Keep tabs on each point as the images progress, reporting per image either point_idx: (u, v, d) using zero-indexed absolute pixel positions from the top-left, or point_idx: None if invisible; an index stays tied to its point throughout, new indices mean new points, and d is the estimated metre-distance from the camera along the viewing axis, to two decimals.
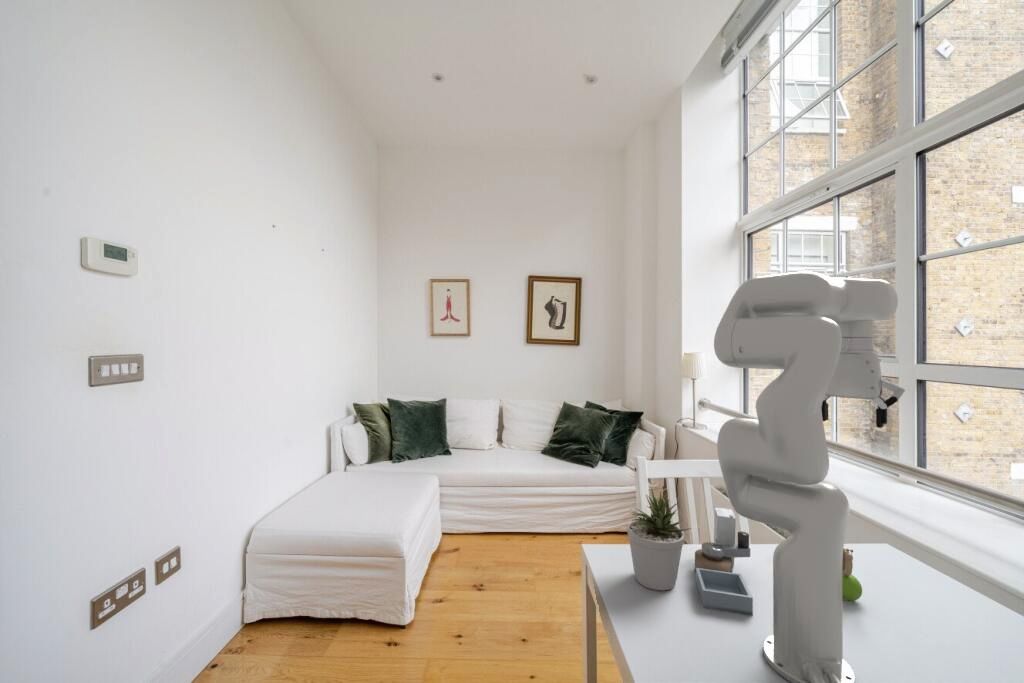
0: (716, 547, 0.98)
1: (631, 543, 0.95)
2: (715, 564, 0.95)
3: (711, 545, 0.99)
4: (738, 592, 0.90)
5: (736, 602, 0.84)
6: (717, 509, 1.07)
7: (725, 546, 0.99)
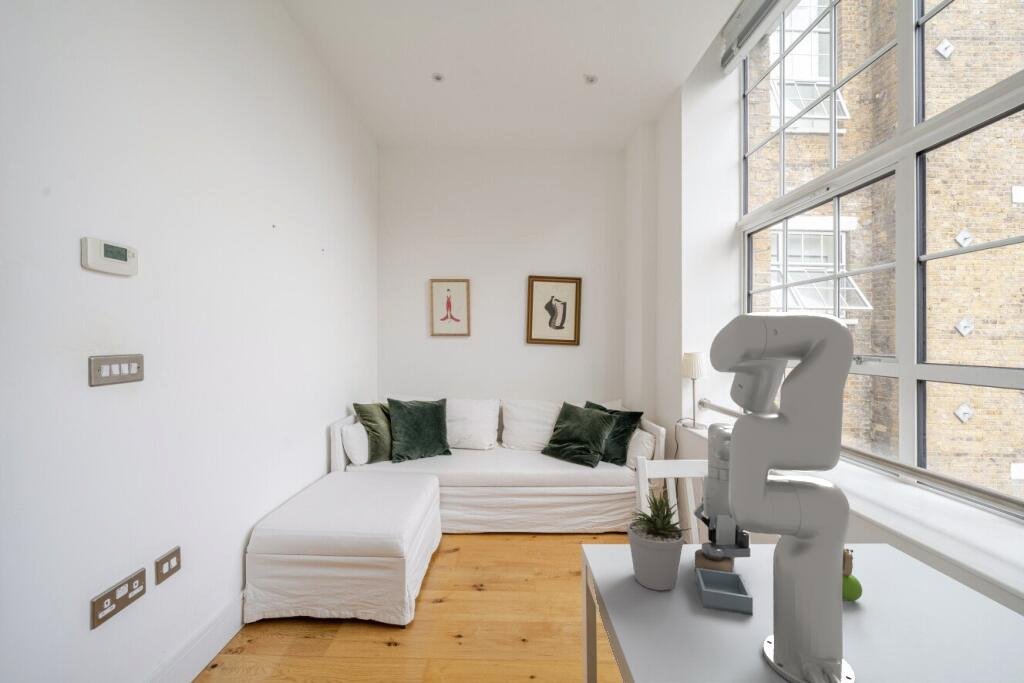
0: (716, 547, 0.98)
1: (631, 543, 0.95)
2: (715, 564, 0.95)
3: (711, 545, 0.99)
4: (738, 592, 0.90)
5: (736, 602, 0.84)
6: None
7: (725, 546, 0.99)
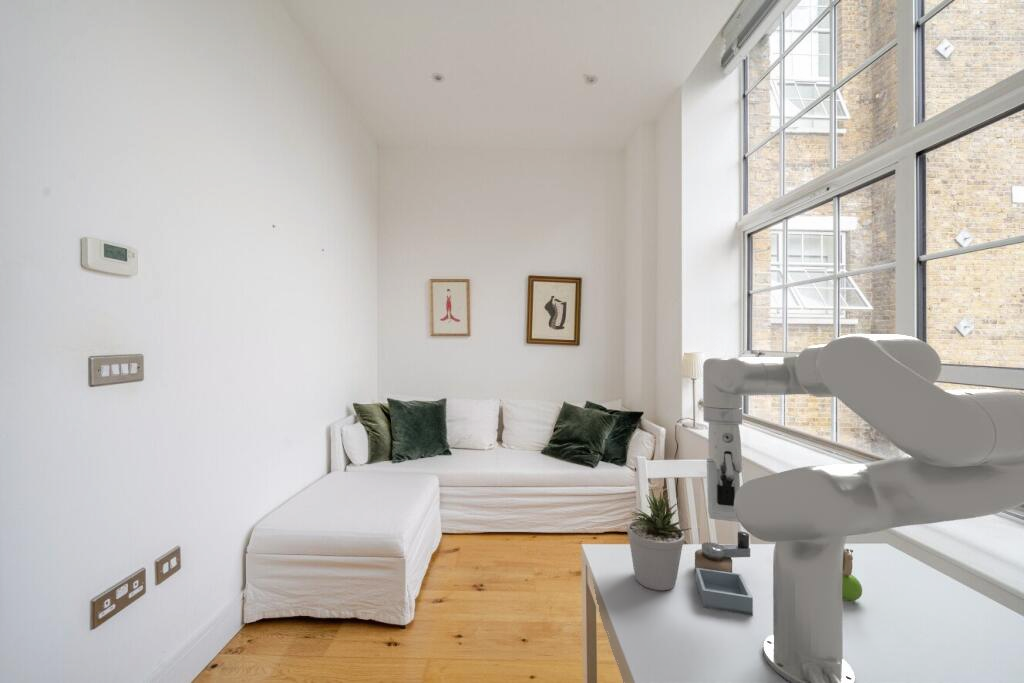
0: (716, 547, 0.98)
1: (631, 543, 0.95)
2: (715, 564, 0.95)
3: (711, 545, 0.99)
4: (738, 592, 0.90)
5: (736, 602, 0.84)
6: None
7: (725, 546, 0.99)
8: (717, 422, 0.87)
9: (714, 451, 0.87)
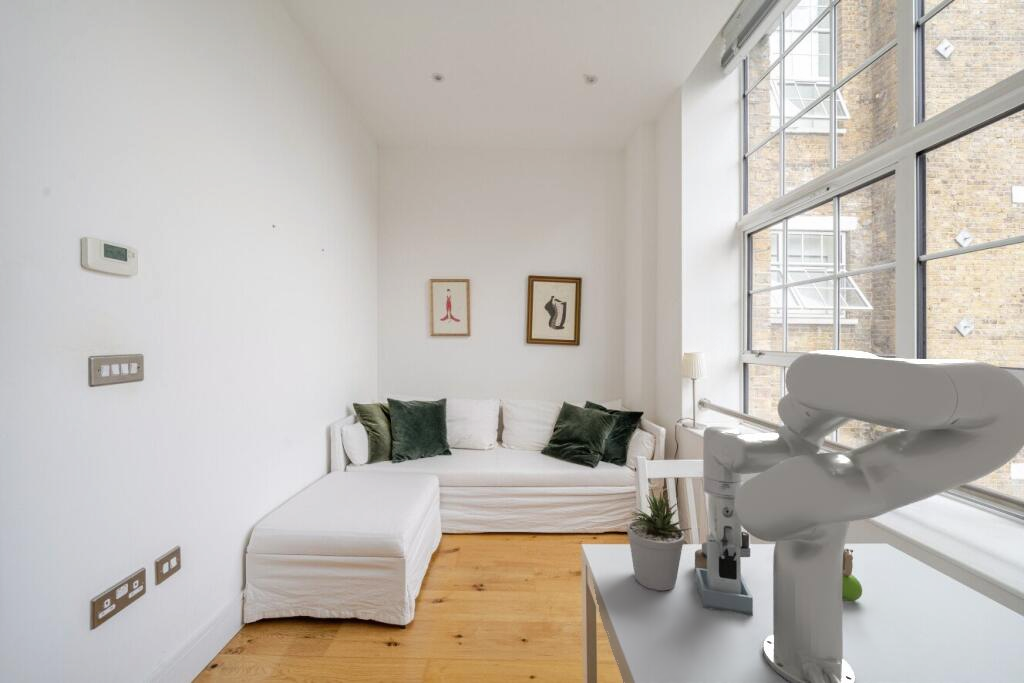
0: None
1: (631, 543, 0.95)
2: None
3: None
4: None
5: (736, 602, 0.84)
6: None
7: None
8: (717, 495, 0.86)
9: (714, 524, 0.86)
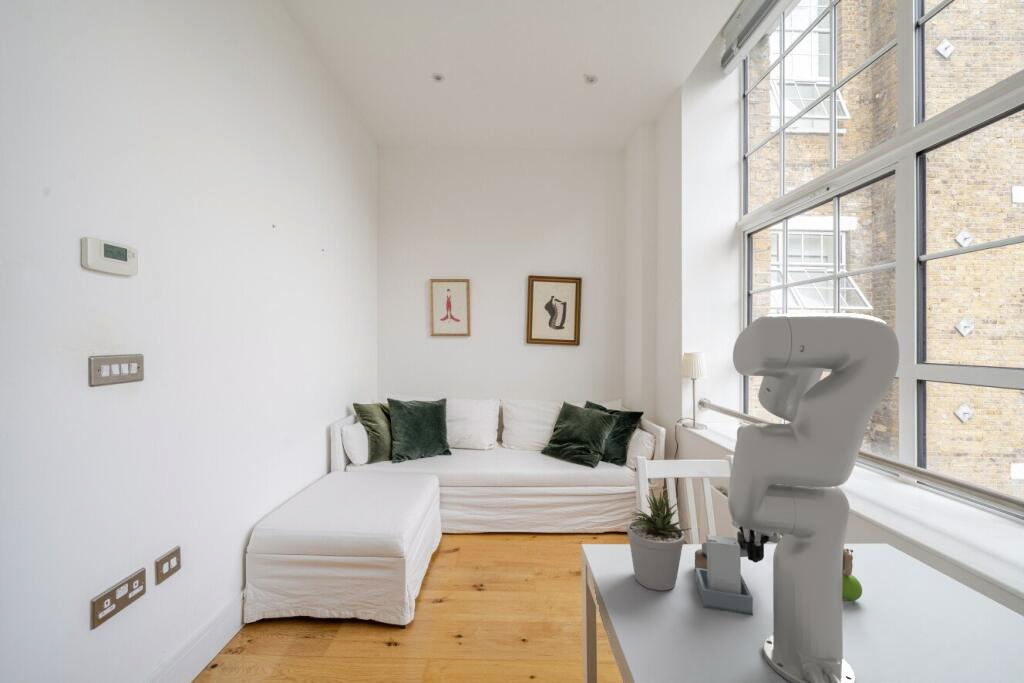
0: None
1: (631, 543, 0.95)
2: None
3: None
4: None
5: (736, 602, 0.84)
6: (729, 537, 0.89)
7: None
8: None
9: None
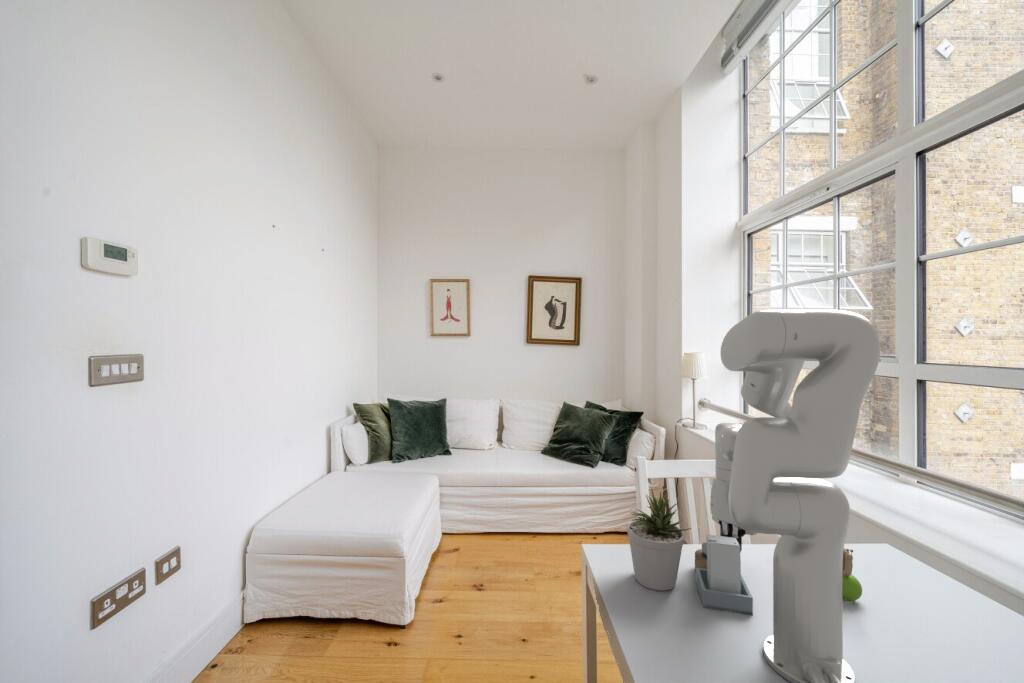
0: None
1: (631, 543, 0.95)
2: None
3: None
4: None
5: (736, 602, 0.84)
6: (729, 537, 0.89)
7: None
8: None
9: None
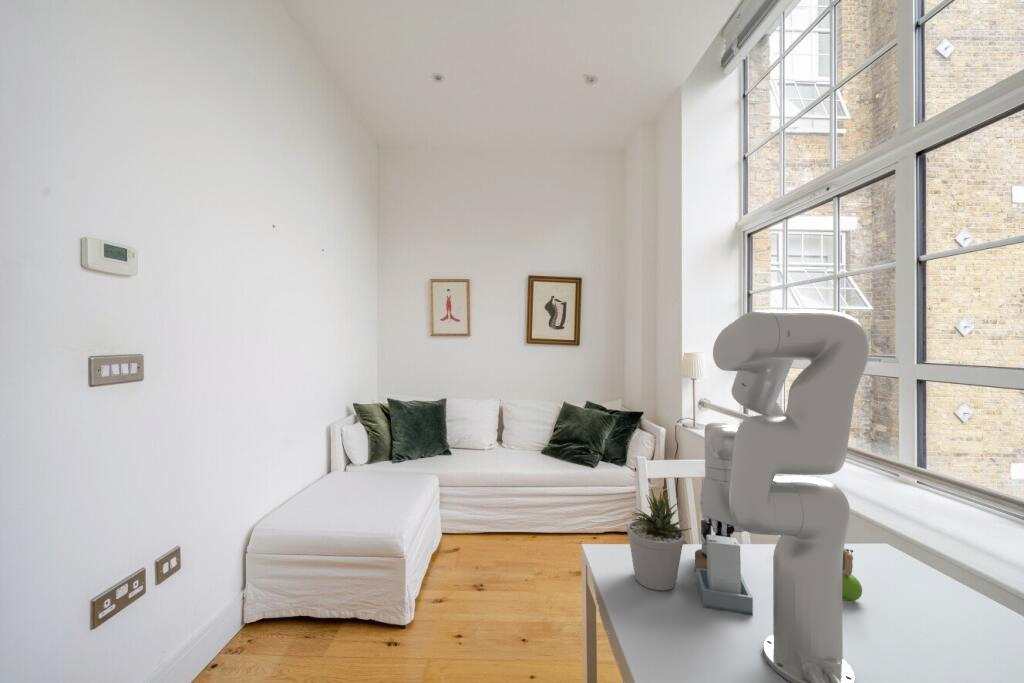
0: None
1: (631, 543, 0.95)
2: None
3: None
4: None
5: (736, 602, 0.84)
6: (729, 537, 0.89)
7: None
8: (730, 482, 0.99)
9: (729, 509, 0.98)
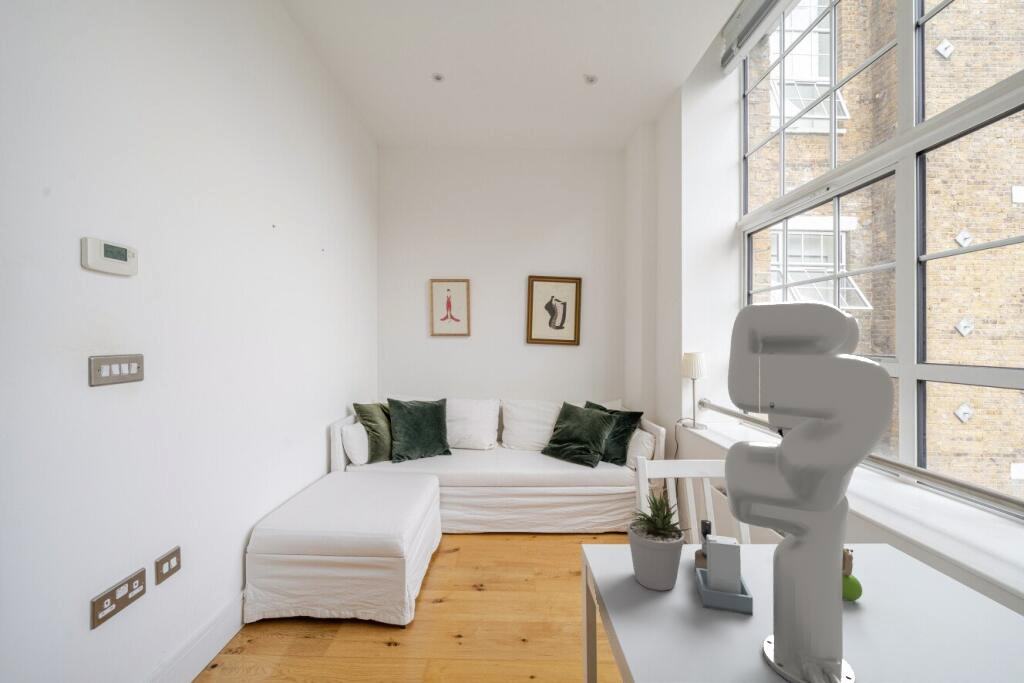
0: None
1: (631, 543, 0.95)
2: None
3: None
4: None
5: (736, 602, 0.84)
6: (729, 537, 0.89)
7: None
8: None
9: None
